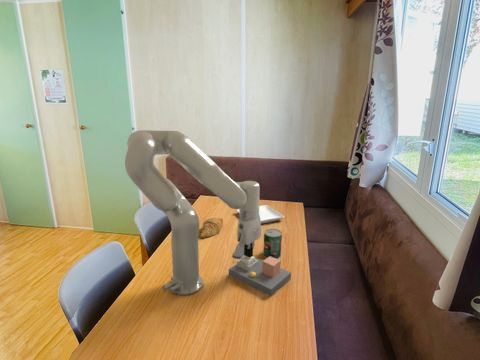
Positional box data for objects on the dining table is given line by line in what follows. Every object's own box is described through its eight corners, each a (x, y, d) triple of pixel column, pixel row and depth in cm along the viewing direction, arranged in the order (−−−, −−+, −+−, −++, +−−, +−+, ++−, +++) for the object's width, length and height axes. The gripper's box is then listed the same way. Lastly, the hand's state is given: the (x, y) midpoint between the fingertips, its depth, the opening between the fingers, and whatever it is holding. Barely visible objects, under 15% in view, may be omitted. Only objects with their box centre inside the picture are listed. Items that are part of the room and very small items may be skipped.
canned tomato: (284, 255, 139) (285, 233, 136) (272, 261, 134) (273, 238, 131) (271, 248, 145) (272, 227, 142) (259, 254, 140) (260, 231, 137)
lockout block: (272, 277, 118) (273, 265, 116) (262, 272, 121) (262, 261, 119) (280, 271, 121) (280, 260, 120) (269, 267, 124) (269, 256, 123)
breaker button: (248, 265, 122) (248, 261, 122) (240, 262, 125) (240, 257, 124) (254, 261, 125) (254, 257, 125) (246, 258, 128) (246, 253, 127)
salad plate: (235, 214, 185) (235, 208, 184) (266, 209, 194) (266, 204, 193) (251, 228, 167) (251, 222, 166) (285, 222, 176) (285, 216, 175)
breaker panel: (270, 296, 111) (271, 284, 110) (228, 275, 123) (228, 264, 122) (290, 279, 122) (291, 268, 121) (250, 261, 134) (250, 251, 133)
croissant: (207, 246, 153) (213, 235, 150) (191, 234, 155) (197, 223, 151) (225, 229, 172) (231, 218, 168) (210, 218, 174) (216, 207, 170)
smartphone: (254, 243, 149) (249, 258, 135) (254, 244, 150) (249, 260, 136) (239, 241, 151) (232, 256, 137) (239, 243, 151) (232, 258, 137)
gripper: (244, 221, 111) (244, 267, 117) (268, 209, 122) (266, 251, 128) (228, 216, 116) (229, 260, 121) (253, 205, 127) (252, 245, 132)
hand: (248, 255), depth 124 cm, fingers closed
